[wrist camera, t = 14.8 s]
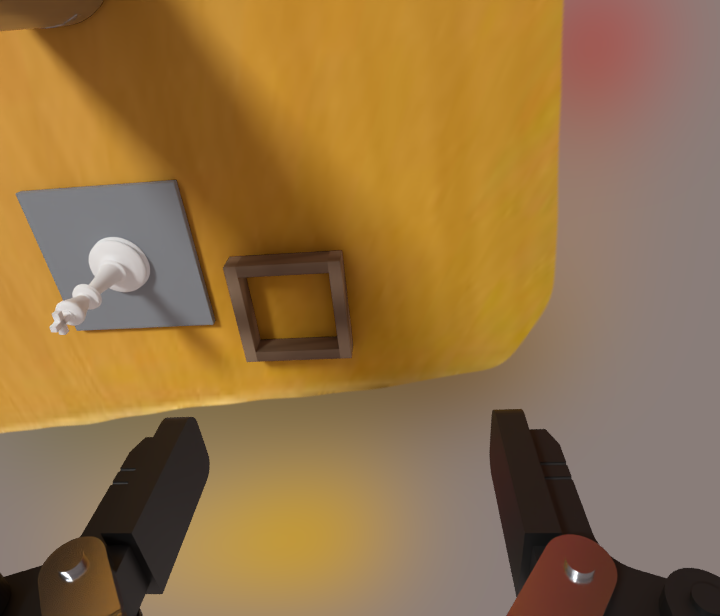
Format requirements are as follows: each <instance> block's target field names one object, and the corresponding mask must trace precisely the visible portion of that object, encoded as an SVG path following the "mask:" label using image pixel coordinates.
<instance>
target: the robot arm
mask: <svg viewBox="0 0 720 616" xmlns="http://www.w3.org/2000/svg"><path fill="white" fill-rule="evenodd" d="M102 2H103V0H0V31H9V30H22V29H33V28H54V27H60V26H68V25H72V24H76V23H80V22H81V21H83V20H85V19H87V18H88V17H90V16H91V15H92V14H93V13H94V12H95V11H96V10H97V9H98V8H99V7H100V6H101V4H102ZM490 467H491V475H492V480H493V485H494V490H495V494H496V499H497V504H498V509H499V514H500V519H501V523H502V528H503V533H504V538H505V543H506V548H507V553H508V558H509V563H510V568H511V572H512V577H513V582H514V587H515V591H516V597H517V598H516V600H515V602H514V603H513V605H512V607H511V608H510V610H509V612H508V614H507V615H506V616H720V577H718V576H716V575H714V574H712V573H709V572H707V571H704V570H700V569H694V568H683V569H678V570H677V571H674V572H673V573H671V574H670V575H669V577H668V578H663V577H660V576H656V575H653V574H650V573H646V572H642V571H640V570H636V569H633V568H630V567H628V566H626V565H624V564H622V563H620V562H618V561H617V560H615V559H613V558H612V557H611V556H610V555H609V554H608V552H607V551H606V550H605V549H604V548H603V547H601V546H600V545H599V544H598V542H597V541H596V539H595V537H594V535H593V533H592V530H591V528H590V525H589V522H588V520H587V517H586V514H585V512H584V509H583V506H582V504H581V501H580V498H579V495H578V493H577V490H576V488H575V485H574V482H573V480H572V479H571V474H570V472H569V469H568V466H567V465H566V461H565V458H564V455H563V453H562V450H561V447H560V445H559V443H558V442H557V441H556V440H555V439H554V438H553V437H552V436H551V435H550V434H549V433H548V432H547V430H545V429H534V430H533V429H531V430H529V427H528V424H527V421H526V417H525V414H524V412H523V410H522V409H508V410H507V409H506V410H493V411H492V420H491V436H490ZM208 474H209V456H208V453H207V450H206V447H205V444H204V441H203V438H202V435H201V432H200V429H199V426H198V423H197V421H196V419H195V418H194V417H177V418H176V417H174V418H165V419H164V420H163V421H162V422H161V424H160V426H159V427H158V429H157V431H156V433H155V435H154V437H147V438H145V439H143V440H142V441H141V442H140V443H139V444H138V445H137V446H136V447H135V448H134V449H133V450H132V451H131V452H130V453H129V455H128V456H127V458H126V460H125V461H124V463H123V465H122V467H121V471H120V472H118V474H117V475H116V477H115V479H114V480H113V485H111V486H110V487H109V489H108V491H107V492H106V494H105V496H104V497H103V499H102V501H101V502H100V504H99V506H98V508H97V509H96V511H95V513H94V514H93V516H92V518H91V520H90V521H89V523H88V525H87V527H86V528H85V530H84V532H83V533H82V535H81V536H80V537H79V538H76V539H73V540H71V541H69V542H67V543H65V544H63V545H62V546H60V547H59V548H58V549H56V550H55V551H54V552H53V553H52V554H51V555H50V556H49V557H48V558H47V560H46V561H45V562H44V564H43V565H42V566H39V567H36V568H32V569H29V570H26V571H22V572H19V573H16V574H12V575H9V576H6V577H3V576H2V575H1V573H0V616H143V614H142V612H141V609H140V606H141V603H142V601H143V598H144V596H145V594H163V591H164V589H165V586H166V584H167V581H168V579H169V576H170V573H171V571H172V568H173V566H174V563H175V561H176V558H177V555H178V553H179V550H180V548H181V545H182V543H183V540H184V537H185V535H186V532H187V530H188V527H189V525H190V522H191V520H192V517H193V514H194V512H195V509H196V506H197V504H198V501H199V499H200V496H201V494H202V491H203V489H204V486H205V484H206V481H207V478H208Z"/></svg>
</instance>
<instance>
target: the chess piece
mask: <svg viewBox="0 0 720 616" xmlns="http://www.w3.org/2000/svg"><path fill="white" fill-rule="evenodd" d="M89 266H90V269H91V271H92V273H93V275H94V276H95V277H94V279H93V280H92V281H91V283H90V284H89V285H87V284H80V285H77V286H76V287H75V288H74V290H73V292H72V296H73V298H71V299H67V300H64V301H62V302H60V303H58V305H57V306H56V311H54V312H53V313H52V316H53V319H54V321H55V322H54V323H53V324H52V325H51V326H50V330H51V332H59V334H60V335H66V334H67V333H68V332H69V330H68V327H67V324H68V325H79V324H81V323H82V322H83V321H84V320H85V317H86V313H87V310H92V309H95V308H97V307H99V306H100V305H101V303H102V297H101V295H100V294H101V293H103V292H104V291H105V290H107V289H108V288H110V289H112V290H115V291H119V292H131V291H134V290H137V289H138V288H140V287H141V286H143V285H144V284H145V283H146V282H147V280H148V278H149V275H150V265H149V262H148V259H147V257H146V256H145V254H144V253H143V251H142V250H141V249H140V248H139V247H138V246H136V245H135V244H133V243H132V242H130V241H128V240H126V239H123V238H119V237H107V238H104V239H101V240H100V241H98V242H97V243H96V244H95V245H94V247H93V248H92V249H91V251H90V254H89Z"/></svg>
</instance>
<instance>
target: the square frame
mask: <svg viewBox="0 0 720 616" xmlns="http://www.w3.org/2000/svg"><path fill="white" fill-rule="evenodd" d="M223 270H224V274H225V278H226V282H227V285H228V289H229V293H230V297H231V301H232V305H233V309H234V313H235V317H236V321H237V325H238V329H239V333H240V337H241V341H242V345H243V349H244V353H245V357H246V361H247V362H257V361H284V360H310V359H337V358H352V350H353V340H352V331H351V322H350V314H349V305H348V297H347V288H346V280H345V271H344V263H343V254H342V250H338V251H321V252H303V253H286V254H269V255H251V256H234V257H229V259H228V260H227V262H226V263H225V265H224V267H223ZM318 273H329V278H330V285H331V293H332V300H333V308H334V315H335V322H336V330H337V336H336V337H312V338H288V339H264V340H261V339H260V335H259V331H258V326H257V322H256V318H255V313H254V309H253V305H252V300H251V296H250V291H249V287H248V283H247V278H246V277H262V276H281V275H299V274H318Z"/></svg>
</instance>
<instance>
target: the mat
mask: <svg viewBox="0 0 720 616" xmlns="http://www.w3.org/2000/svg"><path fill="white" fill-rule="evenodd" d="M16 196H17V198H18V201H19V203H20V205H21V207H22V209H23V212H24V214H25V216H26V218H27V221H28V223H29V225H30V227H31V229H32V232H33V234H34V236H35V238H36V241H37V243H38V245H39V247H40V249H41V252H42V254H43V256H44V258H45V261H46V263H47V265H48V267H49V270H50V272H51V274H52V276H53V278H54V281H55V283H56V285H57V287H58V290H59V292H60V294H61V296H62V298H63V301H64V300H67V299H71V298H73V296H72V292H73V290H74V288H75V287H76V286H77V285H80V284H87V285H89V284H90V283H91V281H92V280H93V279H94V277H95V276H94V275H93V273H92V271H91V269H90V266H89V254H90V251H91V249H92V248H93V247H94V245H95V244H96V243H97V242H98V241H100V240H101V239H104V238H107V237H119V238H123V239H126V240H128V241H130V242H132V243H133V244H135V245H136V246H138V247H139V248H140V249H141V250H142V251H143V253H144V254H145V256H146V257H147V259H148V262H149V265H150V275H149V278H148V280H147V282H146V283H145V284H144V285H143V286H141V287H140V288H138V289H137V290H134V291H131V292H119V291H115V290H112V289H110V288H108V289H107V290H105V291H104V292H103V293H101V294H100V295H101V297H102V303H101V305H100V306H99V307H97V308H95V309H92V310H87V313H86V317H85V320H84V321H83V322H82V323H81V324H79V325H75V327H76V330H77V331H80V330H102V329H124V328H147V327H169V326H191V325H214V323H215V317H214V314H213V310H212V306H211V303H210V299H209V296H208V292H207V289H206V285H205V281H204V278H203V274H202V271H201V267H200V263H199V260H198V256H197V253H196V249H195V245H194V242H193V238H192V235H191V231H190V227H189V224H188V220H187V217H186V213H185V209H184V206H183V202H182V199H181V195H180V191H179V188H178V184H177V181H176V180H168V181H155V182H141V183H127V184H114V185H100V186H86V187H73V188H59V189H45V190H32V191H20V192H18V193H16Z"/></svg>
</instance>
